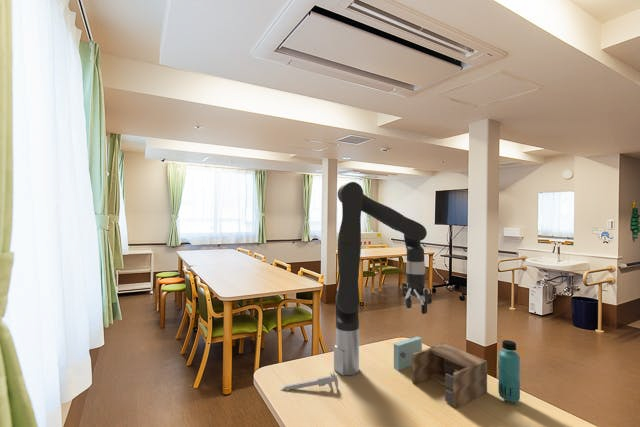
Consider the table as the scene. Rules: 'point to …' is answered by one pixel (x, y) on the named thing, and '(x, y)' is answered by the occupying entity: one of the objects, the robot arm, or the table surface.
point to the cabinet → (451, 372)
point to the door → (406, 352)
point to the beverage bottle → (509, 372)
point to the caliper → (315, 383)
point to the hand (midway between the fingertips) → (416, 310)
